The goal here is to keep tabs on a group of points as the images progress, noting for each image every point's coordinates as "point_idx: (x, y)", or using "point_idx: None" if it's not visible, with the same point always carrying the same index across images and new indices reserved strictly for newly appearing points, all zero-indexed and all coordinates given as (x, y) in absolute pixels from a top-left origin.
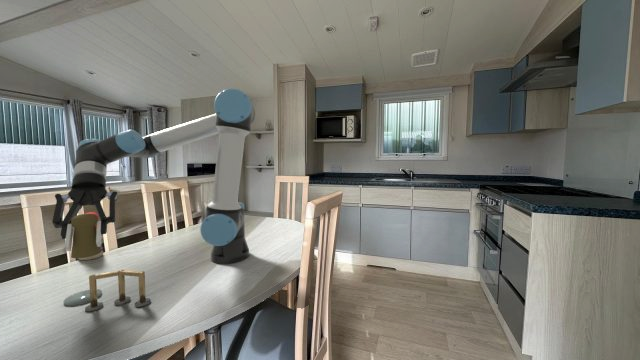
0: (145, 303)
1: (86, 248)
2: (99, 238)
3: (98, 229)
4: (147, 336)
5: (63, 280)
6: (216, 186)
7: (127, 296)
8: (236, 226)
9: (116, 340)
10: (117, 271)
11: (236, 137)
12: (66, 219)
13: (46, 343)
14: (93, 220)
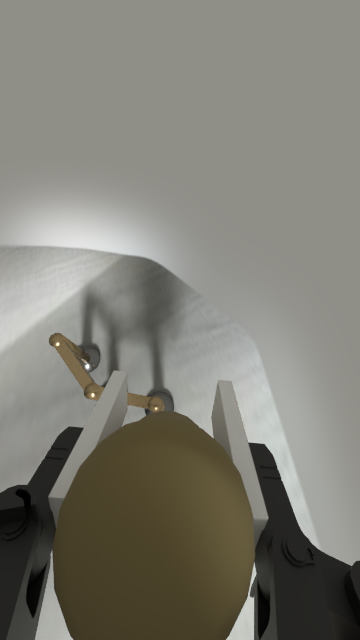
0: (83, 347)
1: (162, 415)
2: (110, 381)
3: (96, 426)
4: (107, 259)
5: None
6: None
7: None
8: None
9: (139, 275)
10: (99, 392)
11: None
12: (304, 603)
13: (213, 329)
14: (99, 443)
